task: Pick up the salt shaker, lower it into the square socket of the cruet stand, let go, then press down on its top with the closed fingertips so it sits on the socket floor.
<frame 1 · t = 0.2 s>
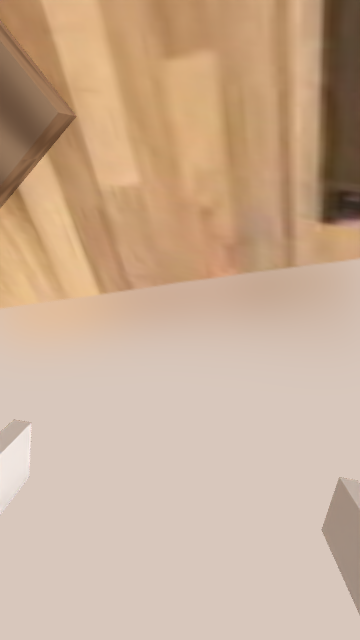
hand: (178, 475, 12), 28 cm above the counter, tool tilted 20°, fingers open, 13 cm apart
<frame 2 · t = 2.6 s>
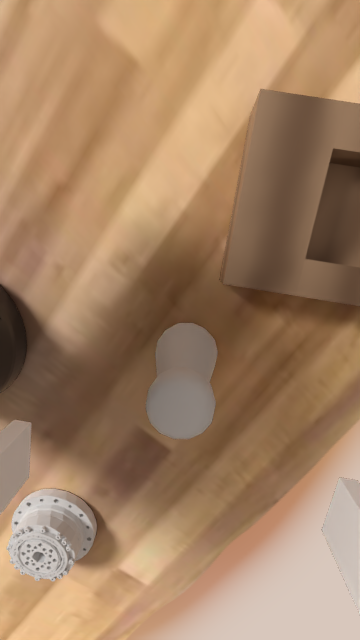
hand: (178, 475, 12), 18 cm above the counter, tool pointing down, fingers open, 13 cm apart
salt shaker: (187, 344, 30), on the counter
mechanical component: (58, 519, 36), on the counter
cruet stand: (344, 219, 26), on the counter
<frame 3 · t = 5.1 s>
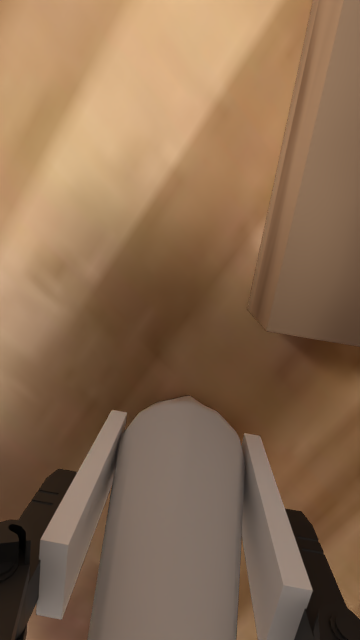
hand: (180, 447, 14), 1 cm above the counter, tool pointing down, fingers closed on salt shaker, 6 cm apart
salt shaker: (182, 428, 16), on the counter, touching gripper
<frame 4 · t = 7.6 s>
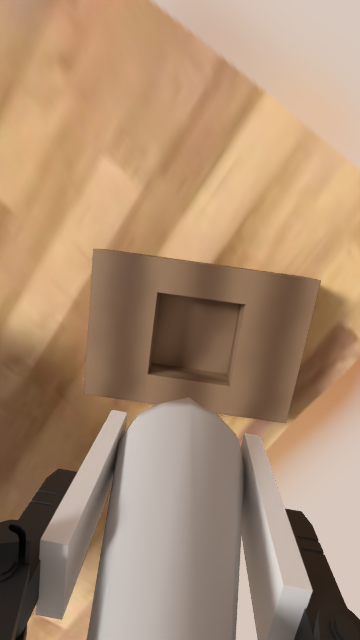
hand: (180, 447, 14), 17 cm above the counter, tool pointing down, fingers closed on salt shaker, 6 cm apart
salt shaker: (182, 430, 16), point 16 cm above the counter, touching gripper
cruet stand: (194, 329, 31), on the counter
when the fingers open (6 cm above the counter, at t = 10.5 s): salt shaker drops 4 cm, resting on cruet stand.
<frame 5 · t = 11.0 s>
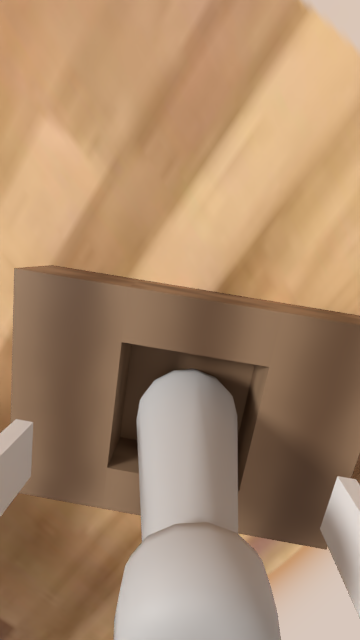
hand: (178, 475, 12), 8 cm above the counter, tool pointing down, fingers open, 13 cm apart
salt shaker: (185, 395, 19), point 1 cm above the counter, touching cruet stand
cruet stand: (186, 388, 20), on the counter
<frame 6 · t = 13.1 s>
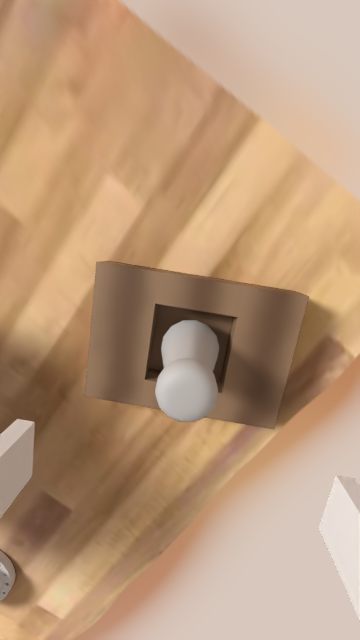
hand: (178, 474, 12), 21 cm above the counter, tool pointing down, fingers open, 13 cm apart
salt shaker: (190, 340, 32), point 1 cm above the counter, touching cruet stand
cruet stand: (190, 338, 32), on the counter
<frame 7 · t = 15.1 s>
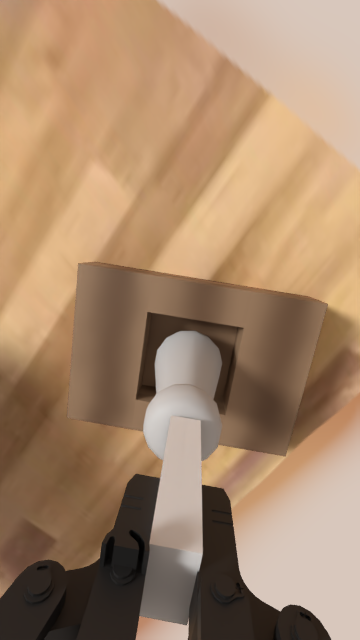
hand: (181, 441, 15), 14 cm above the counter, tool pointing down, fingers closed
salt shaker: (189, 353, 28), point 1 cm above the counter, touching cruet stand, gripper
cruet stand: (189, 350, 28), on the counter
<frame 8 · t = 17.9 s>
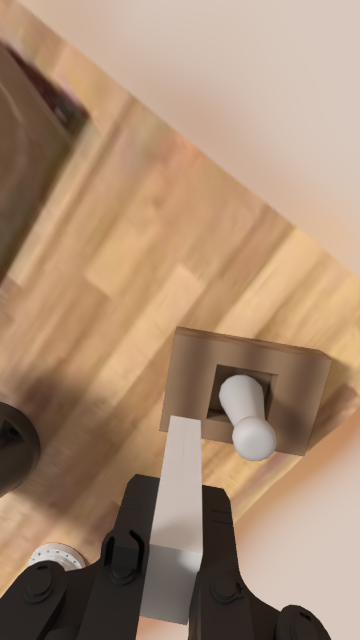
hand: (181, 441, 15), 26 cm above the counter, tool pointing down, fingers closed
salt shaker: (238, 386, 41), point 1 cm above the counter, touching cruet stand
mechanical component: (59, 562, 52), on the counter
cruet stand: (237, 384, 42), on the counter
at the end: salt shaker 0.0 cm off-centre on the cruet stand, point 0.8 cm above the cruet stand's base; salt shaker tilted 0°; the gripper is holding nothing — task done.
